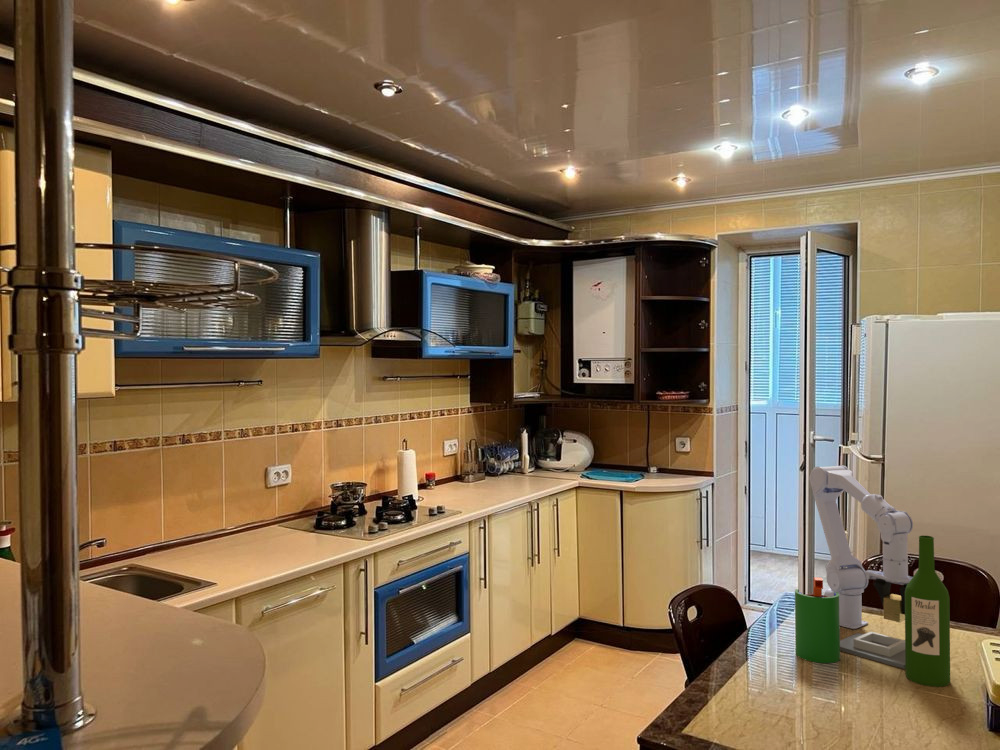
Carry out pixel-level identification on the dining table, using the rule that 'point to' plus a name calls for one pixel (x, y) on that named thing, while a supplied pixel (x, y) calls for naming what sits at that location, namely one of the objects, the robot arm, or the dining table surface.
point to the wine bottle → (927, 622)
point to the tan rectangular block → (893, 608)
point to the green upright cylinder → (817, 625)
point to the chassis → (876, 648)
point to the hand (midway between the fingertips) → (895, 611)
